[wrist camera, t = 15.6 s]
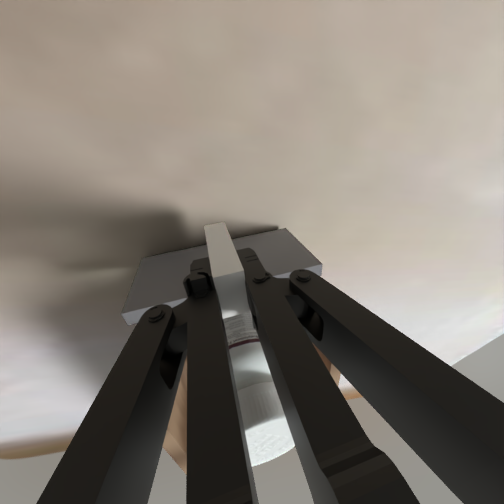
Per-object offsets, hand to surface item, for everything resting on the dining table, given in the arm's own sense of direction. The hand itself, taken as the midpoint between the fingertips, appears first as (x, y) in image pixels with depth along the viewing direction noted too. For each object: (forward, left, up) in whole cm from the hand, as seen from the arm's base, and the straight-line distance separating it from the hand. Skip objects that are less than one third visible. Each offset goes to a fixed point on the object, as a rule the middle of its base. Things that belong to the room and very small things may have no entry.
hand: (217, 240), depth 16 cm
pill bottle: (+7, 0, -1) cm, 7 cm away
